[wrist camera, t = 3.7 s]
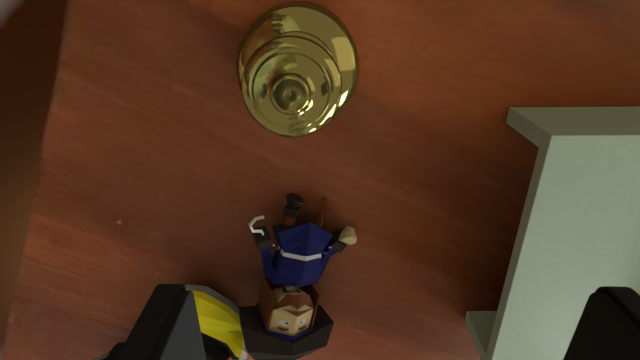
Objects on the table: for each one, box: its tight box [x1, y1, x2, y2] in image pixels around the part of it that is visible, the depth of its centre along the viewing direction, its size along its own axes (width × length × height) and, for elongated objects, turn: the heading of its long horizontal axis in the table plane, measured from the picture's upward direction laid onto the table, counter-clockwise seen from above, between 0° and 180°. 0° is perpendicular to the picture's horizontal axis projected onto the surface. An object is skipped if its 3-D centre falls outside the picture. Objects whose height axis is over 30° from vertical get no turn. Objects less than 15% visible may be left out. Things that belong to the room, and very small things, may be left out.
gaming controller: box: [93, 284, 247, 360], centre depth 36 cm, size 15×6×10 cm
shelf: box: [465, 106, 640, 360], centre depth 30 cm, size 12×21×8 cm, turn 1°
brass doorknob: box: [236, 1, 359, 137], centre depth 23 cm, size 7×7×10 cm
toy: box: [239, 193, 357, 360], centre depth 33 cm, size 9×6×15 cm
